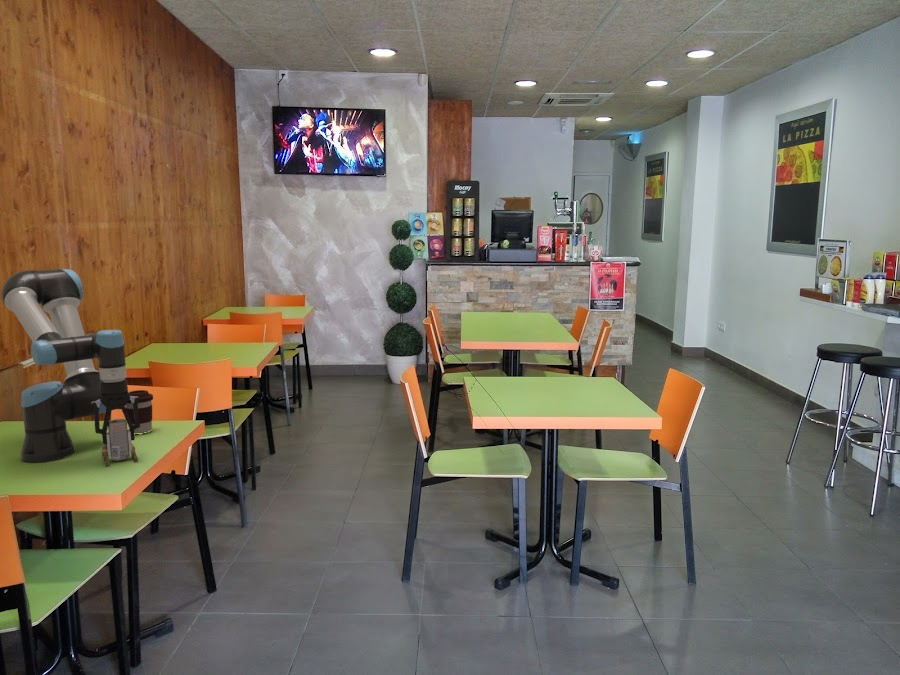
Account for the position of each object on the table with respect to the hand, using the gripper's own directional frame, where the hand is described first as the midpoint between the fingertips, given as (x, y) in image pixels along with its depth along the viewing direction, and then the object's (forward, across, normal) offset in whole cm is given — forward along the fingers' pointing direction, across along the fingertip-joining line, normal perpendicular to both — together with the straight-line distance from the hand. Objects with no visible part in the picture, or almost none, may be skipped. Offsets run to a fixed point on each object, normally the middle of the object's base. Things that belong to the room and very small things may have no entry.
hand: (119, 451), depth 220 cm
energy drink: (+2, 0, 0) cm, 2 cm away
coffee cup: (+3, +9, +32) cm, 33 cm away
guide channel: (+3, 0, +5) cm, 5 cm away
